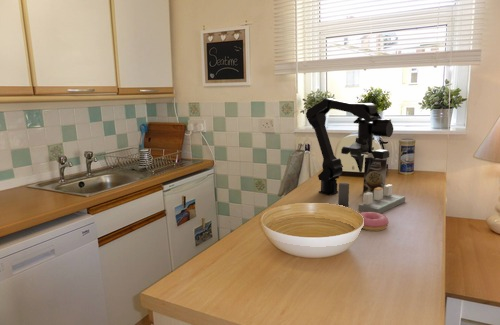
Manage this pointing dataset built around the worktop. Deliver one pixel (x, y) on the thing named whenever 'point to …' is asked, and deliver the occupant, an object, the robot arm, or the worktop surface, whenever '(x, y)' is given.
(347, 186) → the dark grey tall block
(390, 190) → the paddle right
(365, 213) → the doughnut
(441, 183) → the worktop surface
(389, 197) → the breaker panel
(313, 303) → the worktop surface
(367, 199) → the paddle left
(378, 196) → the block
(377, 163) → the coffee box
